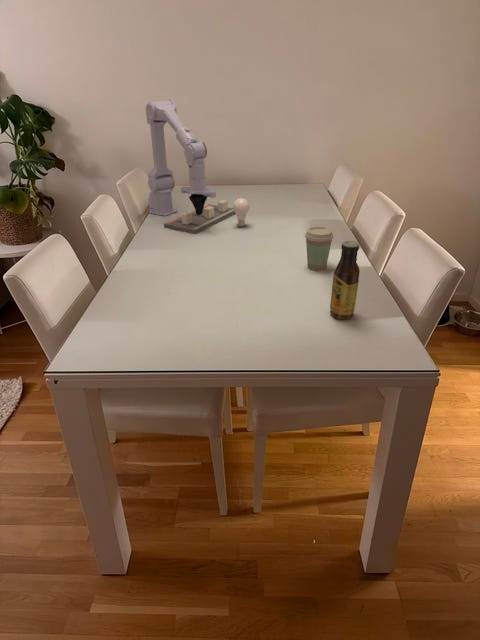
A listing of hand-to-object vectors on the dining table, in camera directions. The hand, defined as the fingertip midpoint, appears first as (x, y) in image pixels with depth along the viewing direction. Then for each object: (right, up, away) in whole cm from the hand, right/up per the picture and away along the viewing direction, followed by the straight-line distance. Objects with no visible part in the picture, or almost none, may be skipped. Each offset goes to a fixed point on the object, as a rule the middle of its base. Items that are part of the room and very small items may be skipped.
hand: (199, 214), depth 175 cm
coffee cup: (+40, -23, -28) cm, 54 cm away
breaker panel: (0, +1, +13) cm, 13 cm away
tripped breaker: (-5, -2, +5) cm, 8 cm away
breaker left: (+8, +6, +18) cm, 21 cm away
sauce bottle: (+42, -39, -55) cm, 79 cm away
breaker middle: (+3, +1, +11) cm, 11 cm away
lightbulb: (+16, -4, +6) cm, 17 cm away
